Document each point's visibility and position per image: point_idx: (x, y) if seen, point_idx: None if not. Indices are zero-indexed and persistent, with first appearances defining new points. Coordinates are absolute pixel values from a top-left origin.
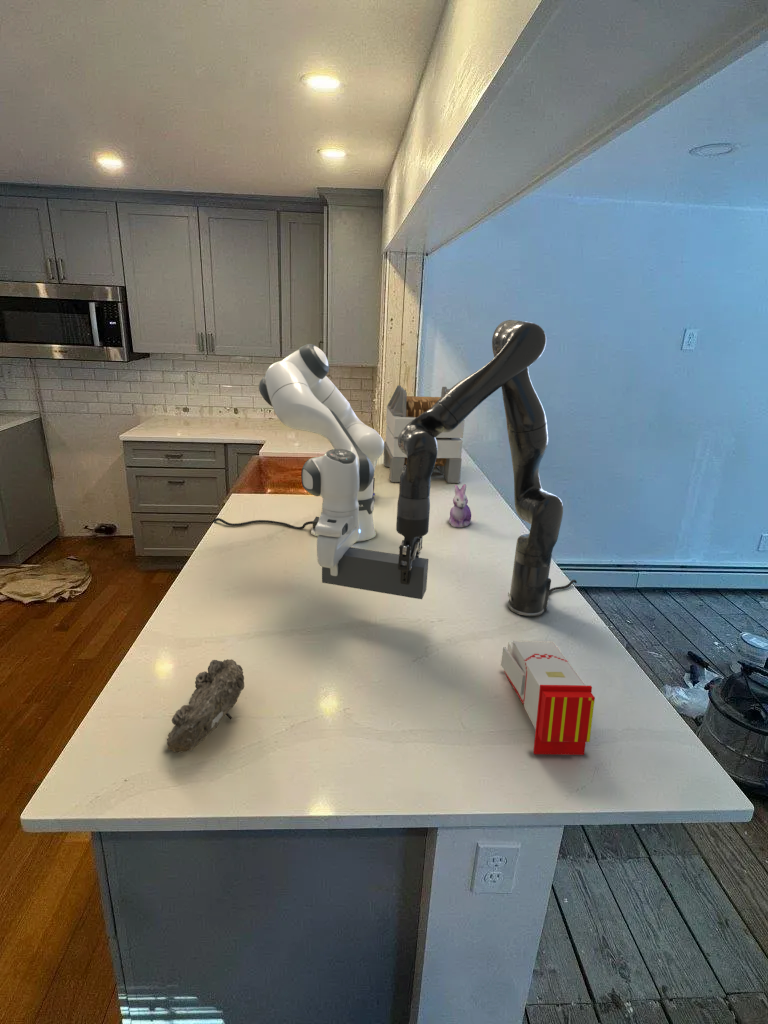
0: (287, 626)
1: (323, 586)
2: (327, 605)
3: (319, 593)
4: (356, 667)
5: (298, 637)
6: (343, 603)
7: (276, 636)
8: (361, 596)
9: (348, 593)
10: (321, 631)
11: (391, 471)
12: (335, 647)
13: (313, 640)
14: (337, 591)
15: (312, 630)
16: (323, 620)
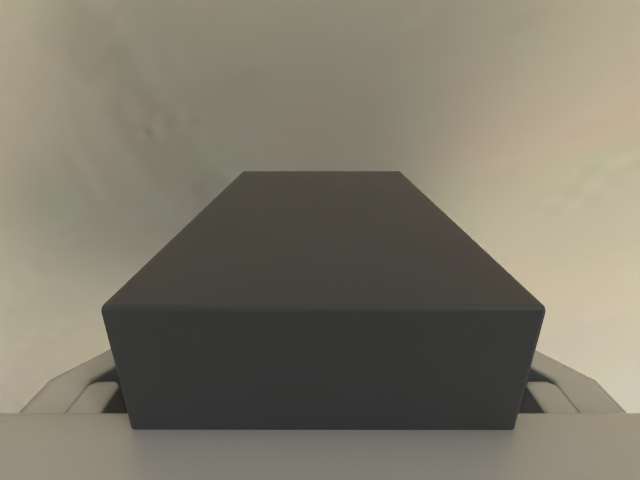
0: (134, 15)
1: (570, 26)
2: (380, 125)
3: (488, 37)
4: (48, 351)
5: (85, 108)
6: (417, 186)
7: (35, 2)
8: (494, 236)
9: (512, 176)
10: (173, 180)
11: None
12: (105, 264)
13: (100, 175)
14: (524, 120)
15: (162, 143)
16: (253, 156)
